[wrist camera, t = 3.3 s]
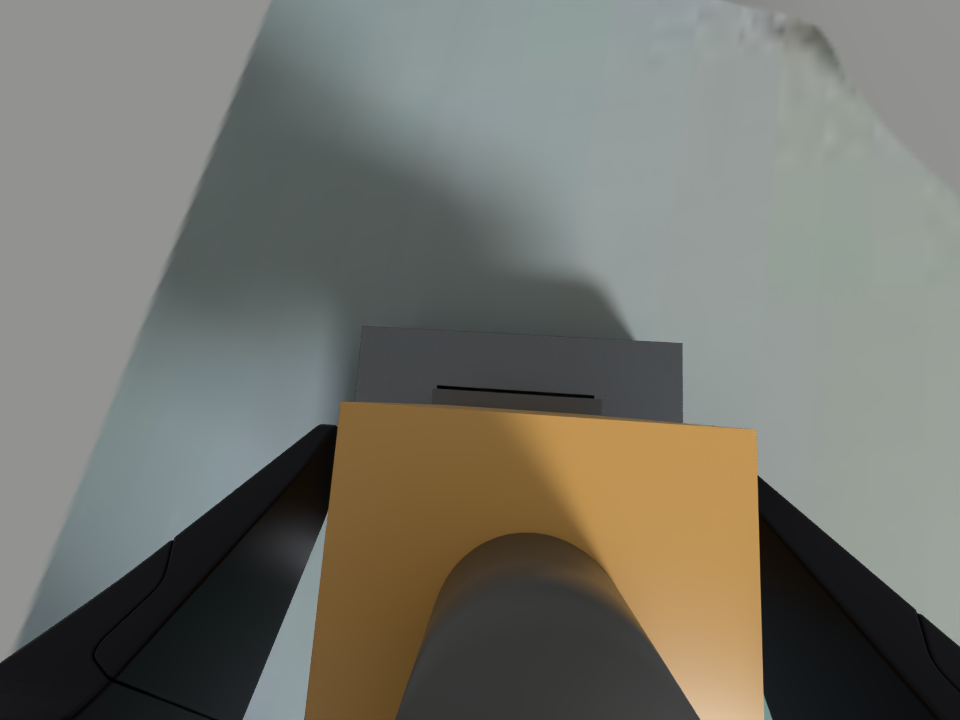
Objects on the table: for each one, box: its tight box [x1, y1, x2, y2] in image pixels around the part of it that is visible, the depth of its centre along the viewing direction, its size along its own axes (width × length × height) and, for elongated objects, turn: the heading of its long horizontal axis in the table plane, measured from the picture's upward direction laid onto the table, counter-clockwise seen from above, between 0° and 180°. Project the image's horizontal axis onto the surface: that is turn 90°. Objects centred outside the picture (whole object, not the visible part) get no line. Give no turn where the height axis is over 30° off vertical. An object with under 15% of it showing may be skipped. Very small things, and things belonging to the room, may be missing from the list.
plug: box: [304, 388, 764, 720], centre depth 9 cm, size 5×5×15 cm
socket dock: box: [354, 326, 683, 423], centre depth 14 cm, size 10×12×4 cm
